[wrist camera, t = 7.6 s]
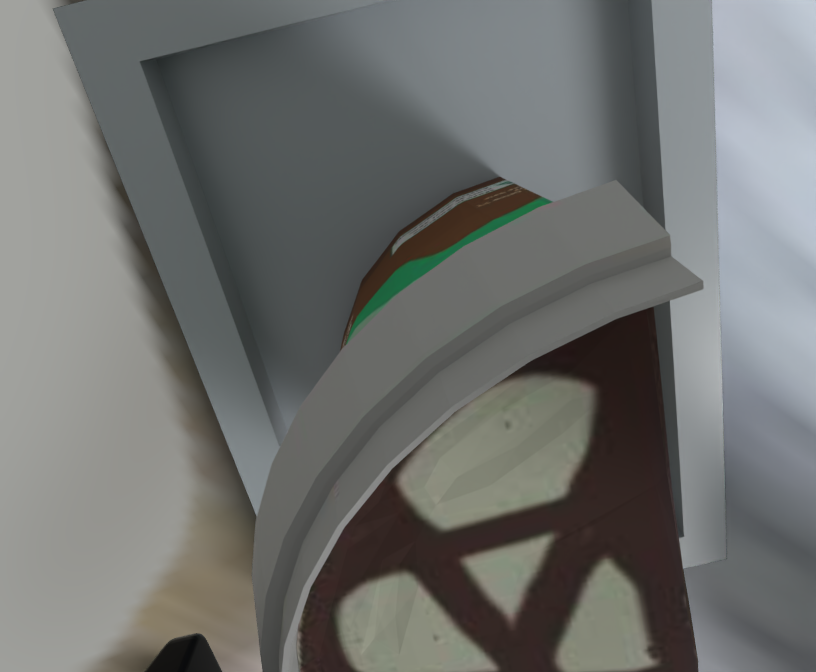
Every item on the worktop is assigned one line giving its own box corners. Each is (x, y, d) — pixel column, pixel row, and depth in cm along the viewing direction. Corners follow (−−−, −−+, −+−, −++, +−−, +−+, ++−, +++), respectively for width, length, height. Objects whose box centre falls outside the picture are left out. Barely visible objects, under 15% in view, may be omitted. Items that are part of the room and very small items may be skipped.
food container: (223, 181, 15) (27, 400, 6) (488, 110, 15) (701, 224, 6) (367, 579, 20) (380, 1024, 11) (566, 530, 20) (746, 942, 11)
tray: (665, -132, 14) (707, -155, 12) (697, 518, 21) (726, 558, 19) (87, 12, 14) (52, 8, 12) (314, 605, 21) (311, 652, 20)
